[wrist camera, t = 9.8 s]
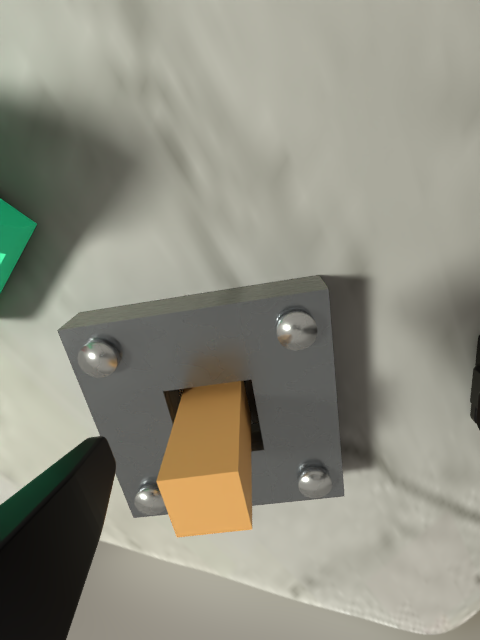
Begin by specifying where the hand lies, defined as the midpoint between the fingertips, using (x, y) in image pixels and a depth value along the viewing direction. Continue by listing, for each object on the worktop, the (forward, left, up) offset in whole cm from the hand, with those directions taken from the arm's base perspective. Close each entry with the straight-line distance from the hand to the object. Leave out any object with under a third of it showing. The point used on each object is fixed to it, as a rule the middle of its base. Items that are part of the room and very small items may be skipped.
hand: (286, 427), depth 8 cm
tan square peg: (+4, +7, -12) cm, 14 cm away
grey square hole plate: (+4, +7, -12) cm, 14 cm away
